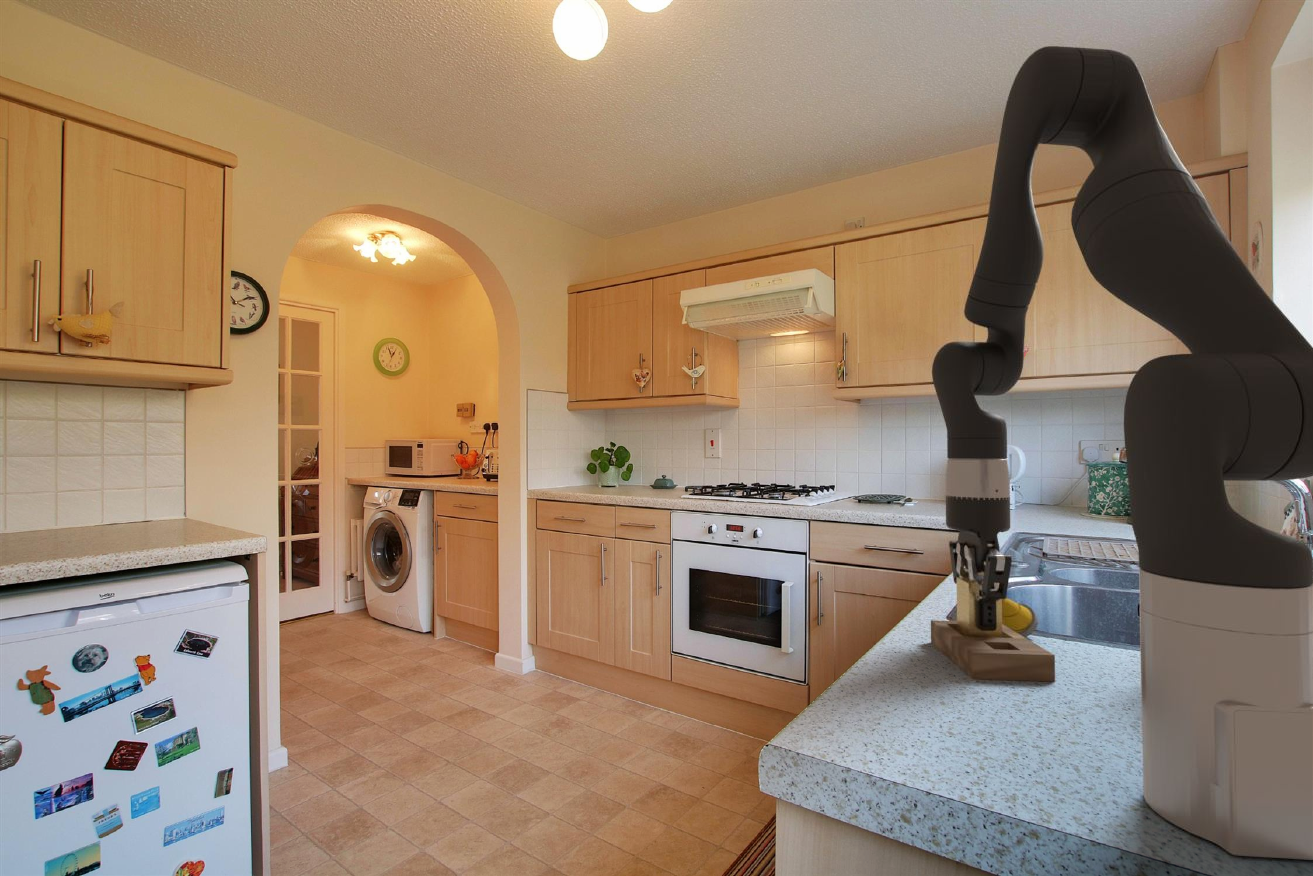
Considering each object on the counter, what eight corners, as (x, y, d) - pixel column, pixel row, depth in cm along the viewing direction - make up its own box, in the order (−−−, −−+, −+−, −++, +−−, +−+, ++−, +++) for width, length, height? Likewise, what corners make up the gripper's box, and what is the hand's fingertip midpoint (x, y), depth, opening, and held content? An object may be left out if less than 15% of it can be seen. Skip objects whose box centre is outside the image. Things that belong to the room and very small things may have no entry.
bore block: (1055, 681, 71) (1054, 655, 71) (972, 678, 71) (972, 652, 71) (999, 644, 84) (998, 622, 85) (930, 642, 85) (930, 620, 85)
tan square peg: (1002, 647, 78) (1001, 584, 78) (969, 646, 79) (968, 583, 79) (988, 638, 82) (987, 577, 82) (957, 637, 83) (956, 577, 83)
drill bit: (1051, 645, 86) (1018, 601, 82) (1011, 655, 88) (977, 612, 85) (1041, 615, 90) (1009, 571, 87) (1003, 624, 93) (971, 583, 89)
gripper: (1035, 497, 74) (1037, 642, 73) (983, 490, 88) (985, 612, 87) (969, 496, 74) (971, 640, 74) (928, 490, 88) (930, 610, 88)
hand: (978, 624), depth 81 cm, fingers closed on tan square peg, 4 cm apart
